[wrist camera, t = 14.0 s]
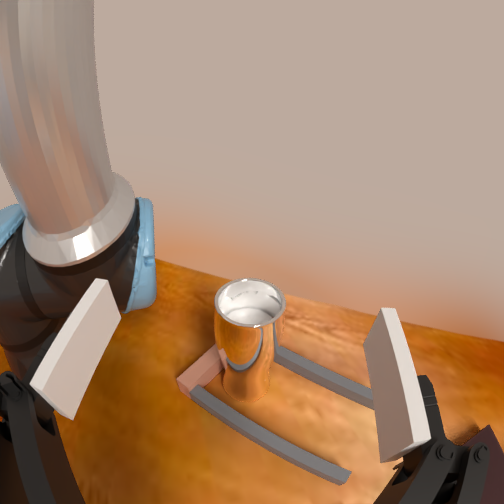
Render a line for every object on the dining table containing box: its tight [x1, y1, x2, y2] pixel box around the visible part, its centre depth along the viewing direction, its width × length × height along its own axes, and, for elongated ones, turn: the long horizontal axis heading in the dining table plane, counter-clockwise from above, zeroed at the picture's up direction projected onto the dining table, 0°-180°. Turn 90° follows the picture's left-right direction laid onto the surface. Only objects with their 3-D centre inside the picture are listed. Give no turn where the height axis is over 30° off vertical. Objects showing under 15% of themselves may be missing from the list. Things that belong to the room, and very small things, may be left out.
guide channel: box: [176, 344, 374, 485], centre depth 30 cm, size 23×13×3 cm, turn 55°
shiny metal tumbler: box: [214, 278, 286, 402], centre depth 30 cm, size 7×7×15 cm
